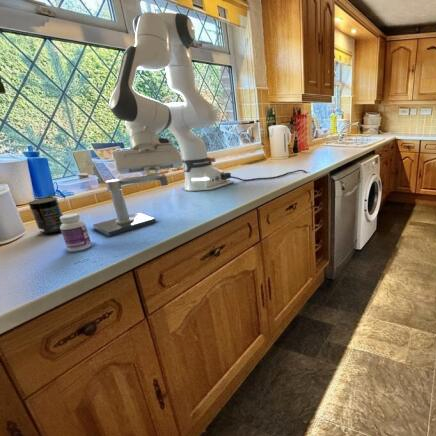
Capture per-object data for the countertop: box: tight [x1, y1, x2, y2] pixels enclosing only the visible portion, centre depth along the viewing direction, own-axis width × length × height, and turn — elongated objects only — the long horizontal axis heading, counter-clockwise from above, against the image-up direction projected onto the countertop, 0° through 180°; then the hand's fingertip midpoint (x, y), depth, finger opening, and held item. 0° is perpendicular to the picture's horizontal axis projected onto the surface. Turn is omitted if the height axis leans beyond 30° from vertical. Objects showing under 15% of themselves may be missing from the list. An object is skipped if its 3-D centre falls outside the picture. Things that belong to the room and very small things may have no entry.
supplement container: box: [28, 197, 64, 236], centre depth 95 cm, size 7×7×10 cm
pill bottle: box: [60, 212, 92, 252], centre depth 83 cm, size 5×5×10 cm
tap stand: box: [92, 188, 157, 237], centre depth 98 cm, size 14×12×12 cm
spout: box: [105, 173, 169, 192], centre depth 99 cm, size 17×4×4 cm, turn 125°
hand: (154, 179), depth 103 cm, fingers closed, pressing on spout
